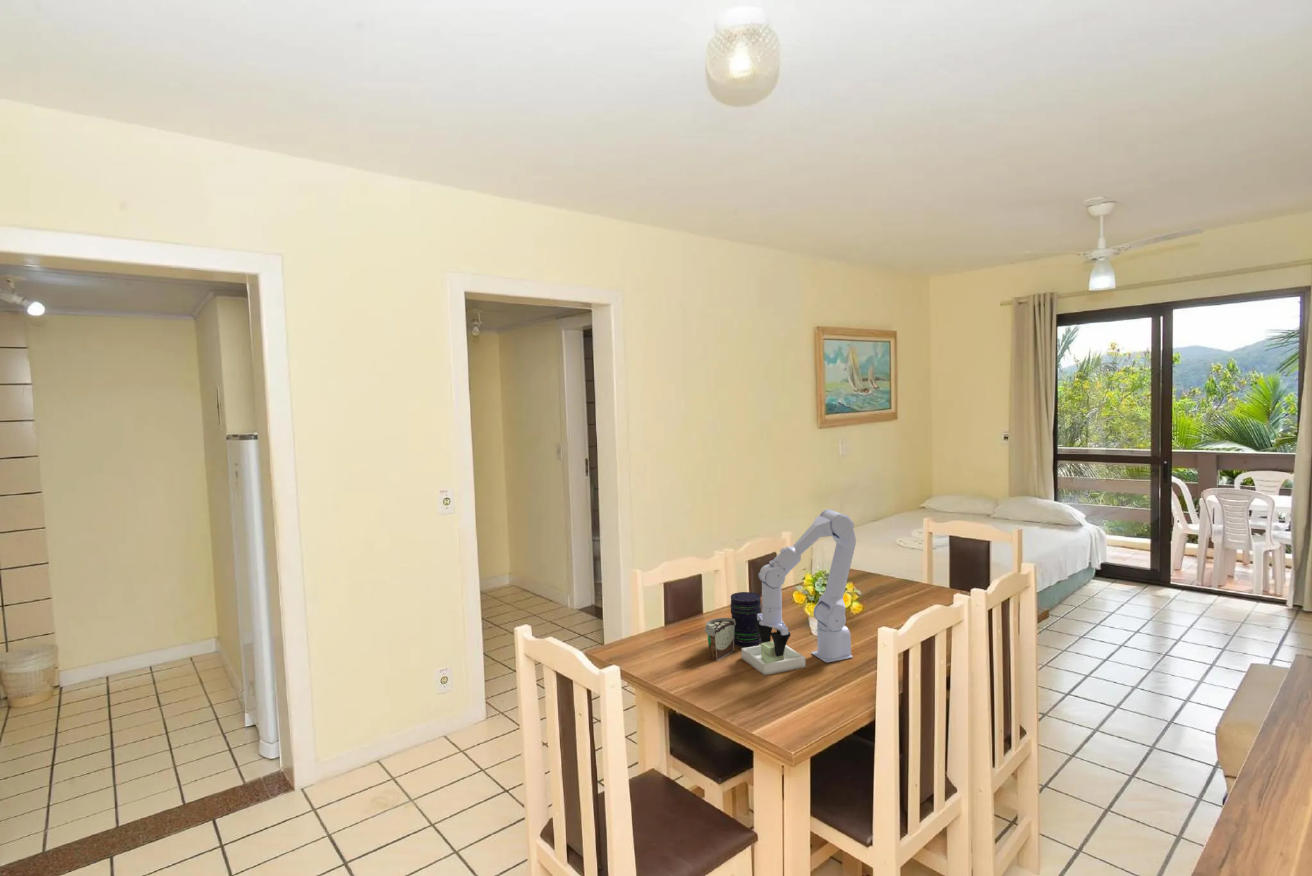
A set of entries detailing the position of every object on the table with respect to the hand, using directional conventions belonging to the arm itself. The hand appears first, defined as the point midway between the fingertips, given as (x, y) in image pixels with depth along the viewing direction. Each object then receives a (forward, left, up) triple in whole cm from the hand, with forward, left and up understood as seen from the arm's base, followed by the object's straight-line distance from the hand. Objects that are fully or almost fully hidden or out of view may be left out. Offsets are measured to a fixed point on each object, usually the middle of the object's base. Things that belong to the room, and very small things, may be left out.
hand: (772, 651), depth 192 cm
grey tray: (0, 0, -3) cm, 3 cm away
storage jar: (-1, -18, -4) cm, 18 cm away
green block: (0, 0, -3) cm, 3 cm away
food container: (+12, -13, -4) cm, 18 cm away
